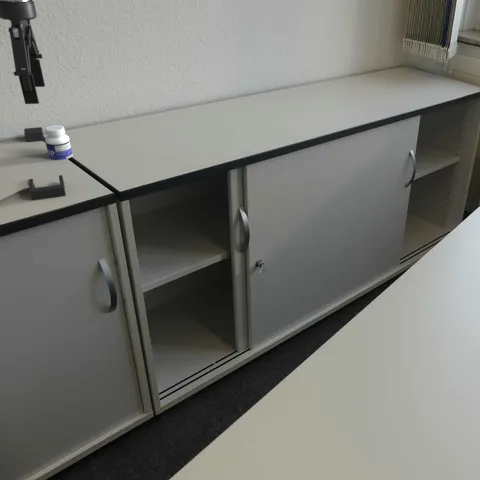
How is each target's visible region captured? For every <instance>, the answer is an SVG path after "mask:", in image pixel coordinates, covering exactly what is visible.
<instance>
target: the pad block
mask: <svg viewBox="0 0 480 480" xmlns="http://www.w3.org/2000/svg"><path fill="white" fill-rule="evenodd" d="M23 132H24V133H23V135H24V139H25V142H26V143H34V142H35V143H36V142H43V141H44V142H45V136H44V131H43V127H42V126H39V127H28V128H27V127H25V128H24V129H23Z"/></svg>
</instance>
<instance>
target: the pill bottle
mask: <svg viewBox="0 0 480 480" xmlns="http://www.w3.org/2000/svg"><path fill="white" fill-rule="evenodd" d="M45 133H46V136H45V137H44V143H45V146H46V151H47V153H48V158H49V159H50V160H53V161H62V160H63V161H64V160H68V159H70V158H72V157H73V156H74V154H73V150H72V145H71V139H70V137H69V135H67V134H66V130H65V126H63V125H61V124H60V125H59V124H56V125H55V124H54V125H48V126H46V127H45Z"/></svg>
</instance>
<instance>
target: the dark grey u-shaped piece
mask: <svg viewBox="0 0 480 480" xmlns="http://www.w3.org/2000/svg"><path fill="white" fill-rule="evenodd" d="M58 179H59V180H58V181H59V184H55V185H48V186H40V187H39V186H38V187H36V185H35V183H34V179H33V178H29V179H28V183H29V184H28V186H29V187H28V188H29V189H28V190H29V196H30V199H31V201H37V200H45V199H51V198H58V197H66V196H67V195H66V187H65V181H64V177H63V175H62V174H61V175H58Z"/></svg>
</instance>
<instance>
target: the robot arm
mask: <svg viewBox="0 0 480 480" xmlns="http://www.w3.org/2000/svg"><path fill="white" fill-rule="evenodd" d="M37 17H38V15H37V9H36V5H35V1H34V0H0V19H1V20H5V21H6V20H8V21H10V27H8V32H9V37H10V44H11V50H12V56H13V62H14V71H13V75H14V76H15V77H18V79H19V84H20V88H21V93H22V96H23V100H24V105H40V100H39V96H38V92H37V88H45V87H46V84H45V80H44V79H45V78H44V75H43V69H42V65H41V60H42V59H43V55H42V53H40V50H39V47H38V43H37V40H36V37H35V34H34V31H33V27H32V23H31V21H32V20H34V19H36V18H37Z"/></svg>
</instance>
